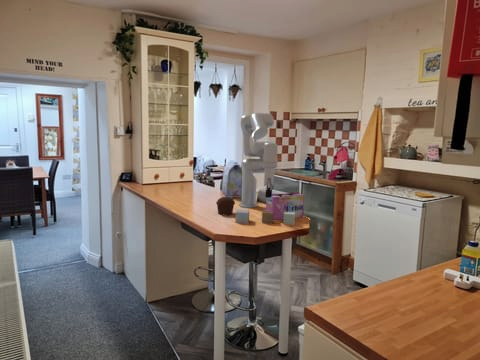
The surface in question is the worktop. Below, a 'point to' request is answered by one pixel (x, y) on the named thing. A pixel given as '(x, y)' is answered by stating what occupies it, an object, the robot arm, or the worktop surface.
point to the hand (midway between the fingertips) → (268, 195)
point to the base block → (242, 216)
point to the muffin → (225, 205)
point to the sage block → (289, 218)
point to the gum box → (285, 204)
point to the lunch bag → (232, 180)
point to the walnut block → (267, 216)
